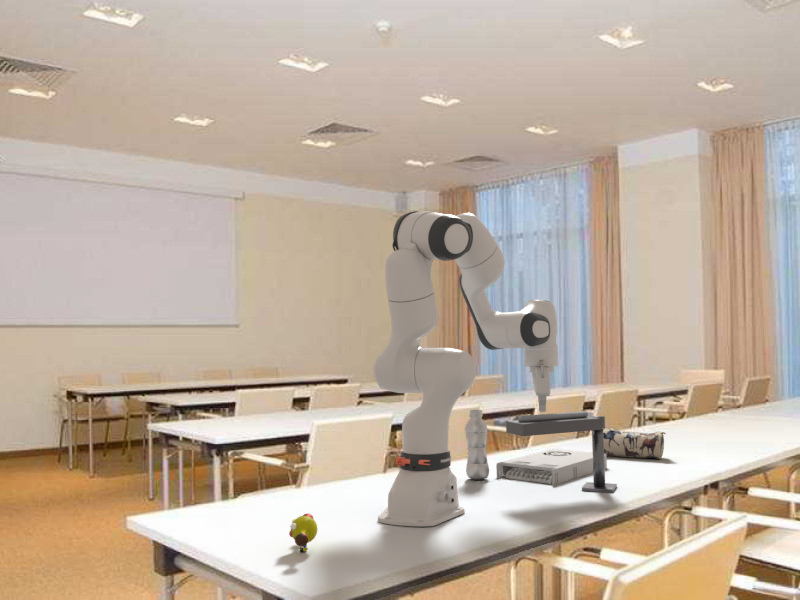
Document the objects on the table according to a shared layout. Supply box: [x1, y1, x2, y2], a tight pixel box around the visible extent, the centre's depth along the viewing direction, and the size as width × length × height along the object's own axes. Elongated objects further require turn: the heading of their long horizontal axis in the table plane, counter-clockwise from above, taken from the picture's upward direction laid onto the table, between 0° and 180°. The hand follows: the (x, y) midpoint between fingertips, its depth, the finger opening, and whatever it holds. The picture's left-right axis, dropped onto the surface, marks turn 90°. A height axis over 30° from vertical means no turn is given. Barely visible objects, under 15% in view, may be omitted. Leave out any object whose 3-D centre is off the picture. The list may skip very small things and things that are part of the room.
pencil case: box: [602, 427, 667, 460], centre depth 250 cm, size 22×8×10 cm, turn 57°
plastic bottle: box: [464, 409, 490, 481], centre depth 217 cm, size 6×7×20 cm
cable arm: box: [505, 411, 606, 437], centre depth 196 cm, size 28×8×5 cm, turn 113°
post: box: [581, 428, 618, 494], centre depth 201 cm, size 8×8×16 cm
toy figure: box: [289, 513, 318, 553], centre depth 148 cm, size 18×6×7 cm, turn 3°
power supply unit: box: [495, 448, 608, 486], centre depth 225 cm, size 19×33×5 cm, turn 139°
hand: (542, 411), depth 201 cm, fingers closed
